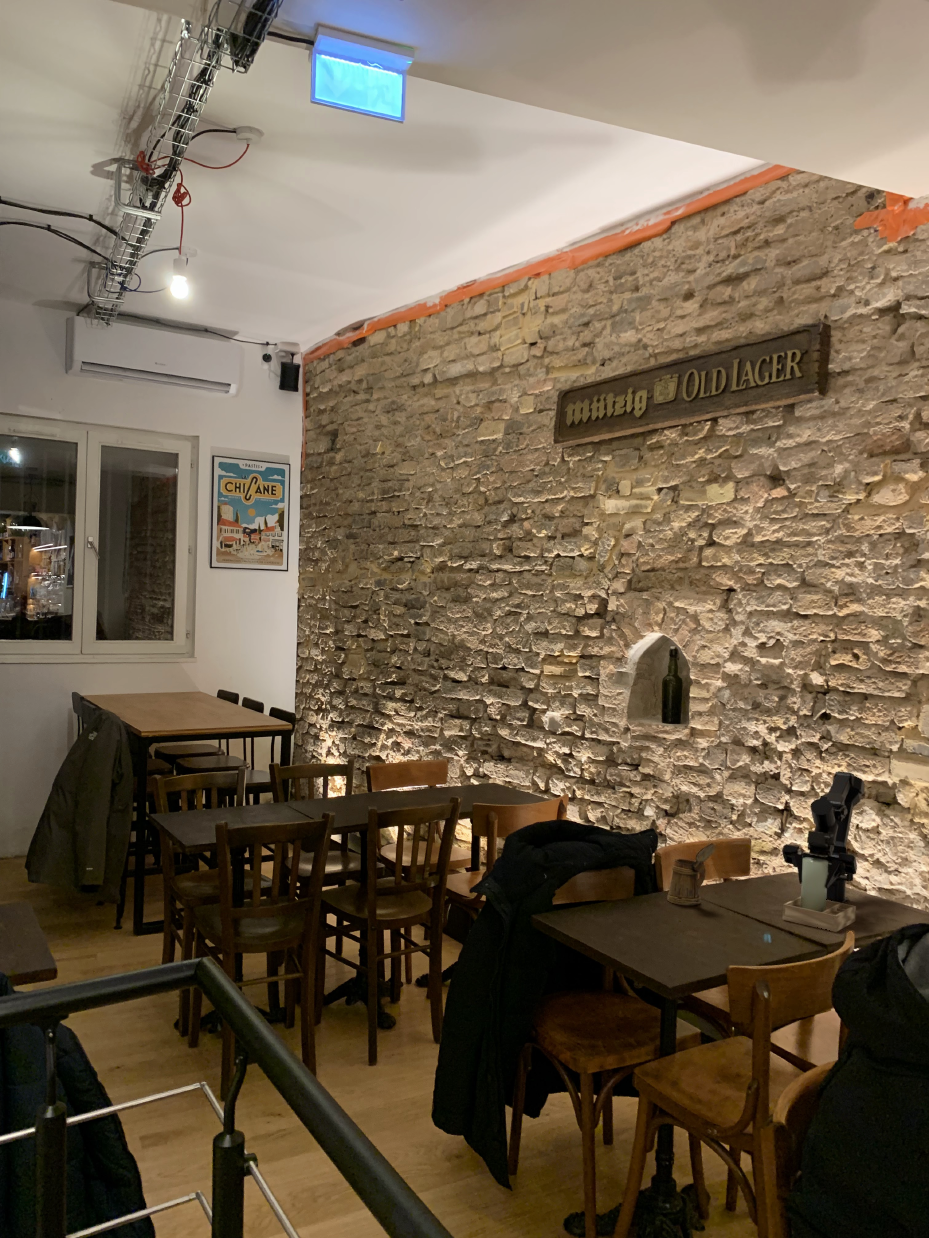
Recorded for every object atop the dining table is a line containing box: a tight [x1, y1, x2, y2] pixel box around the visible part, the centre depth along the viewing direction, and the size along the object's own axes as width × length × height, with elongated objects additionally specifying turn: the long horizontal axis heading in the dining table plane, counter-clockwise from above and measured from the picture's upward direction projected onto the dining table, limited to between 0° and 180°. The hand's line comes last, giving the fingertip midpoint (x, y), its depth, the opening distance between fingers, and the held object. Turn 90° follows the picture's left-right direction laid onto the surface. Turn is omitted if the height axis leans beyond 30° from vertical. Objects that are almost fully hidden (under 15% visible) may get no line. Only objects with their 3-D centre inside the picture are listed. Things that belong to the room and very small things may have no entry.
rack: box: [782, 896, 857, 933], centre depth 255 cm, size 15×14×4 cm
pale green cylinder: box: [800, 857, 828, 912], centre depth 256 cm, size 6×6×13 cm
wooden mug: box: [666, 842, 716, 907], centre depth 265 cm, size 9×14×18 cm, turn 37°
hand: (813, 884), depth 255 cm, fingers closed on pale green cylinder, 6 cm apart
